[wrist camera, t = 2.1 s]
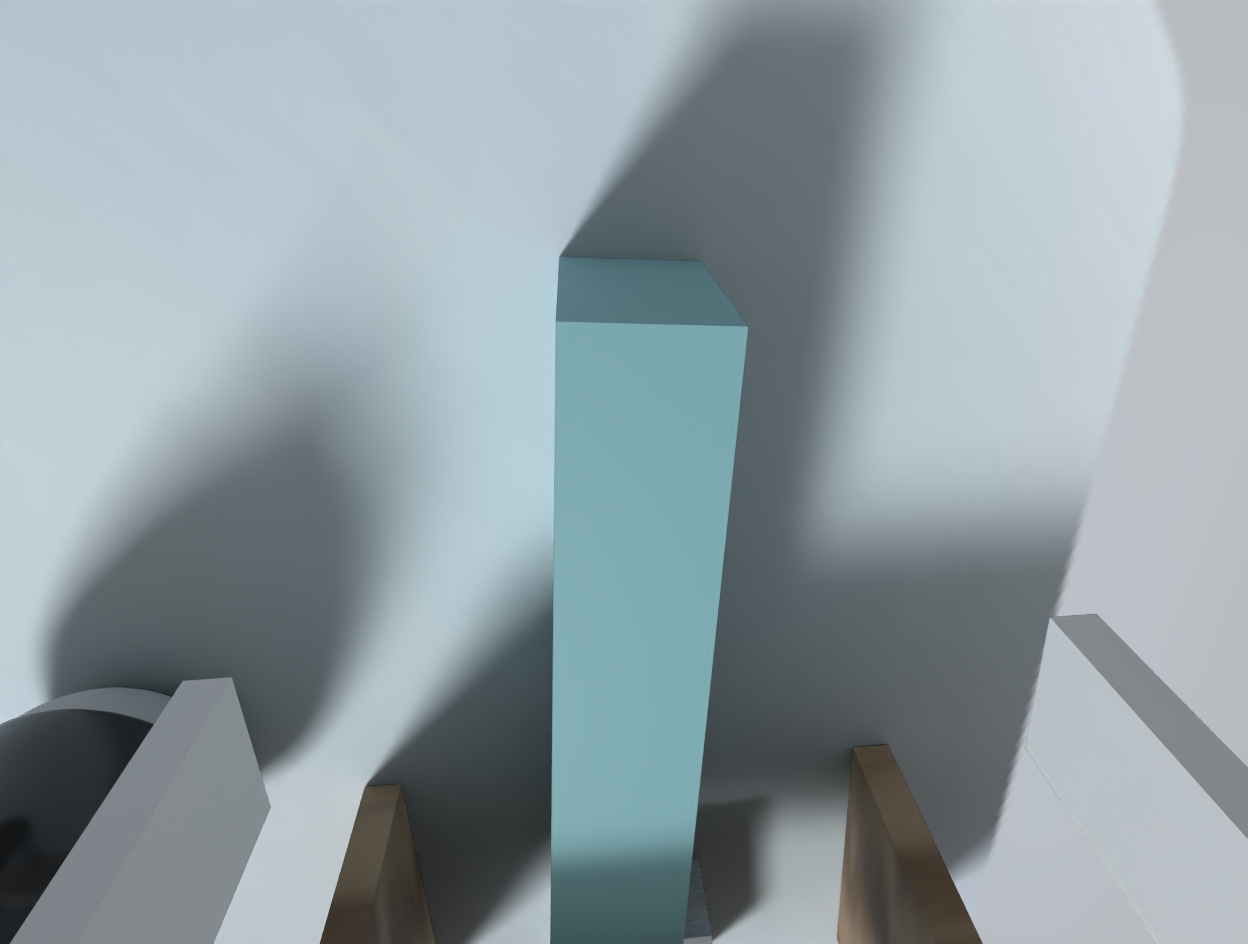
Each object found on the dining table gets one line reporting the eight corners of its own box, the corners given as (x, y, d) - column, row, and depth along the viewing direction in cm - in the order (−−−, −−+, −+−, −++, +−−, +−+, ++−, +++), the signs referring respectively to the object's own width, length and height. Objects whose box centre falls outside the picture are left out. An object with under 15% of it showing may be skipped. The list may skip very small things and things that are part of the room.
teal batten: (559, 255, 27) (555, 321, 20) (700, 259, 27) (748, 326, 20) (553, 798, 37) (549, 977, 29) (658, 797, 37) (679, 973, 30)
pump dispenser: (290, 660, 32) (84, 1089, 19) (273, 853, 37) (96, 1321, 23) (1, 619, 31) (-453, 1053, 17) (18, 825, 35) (-336, 1307, 21)
